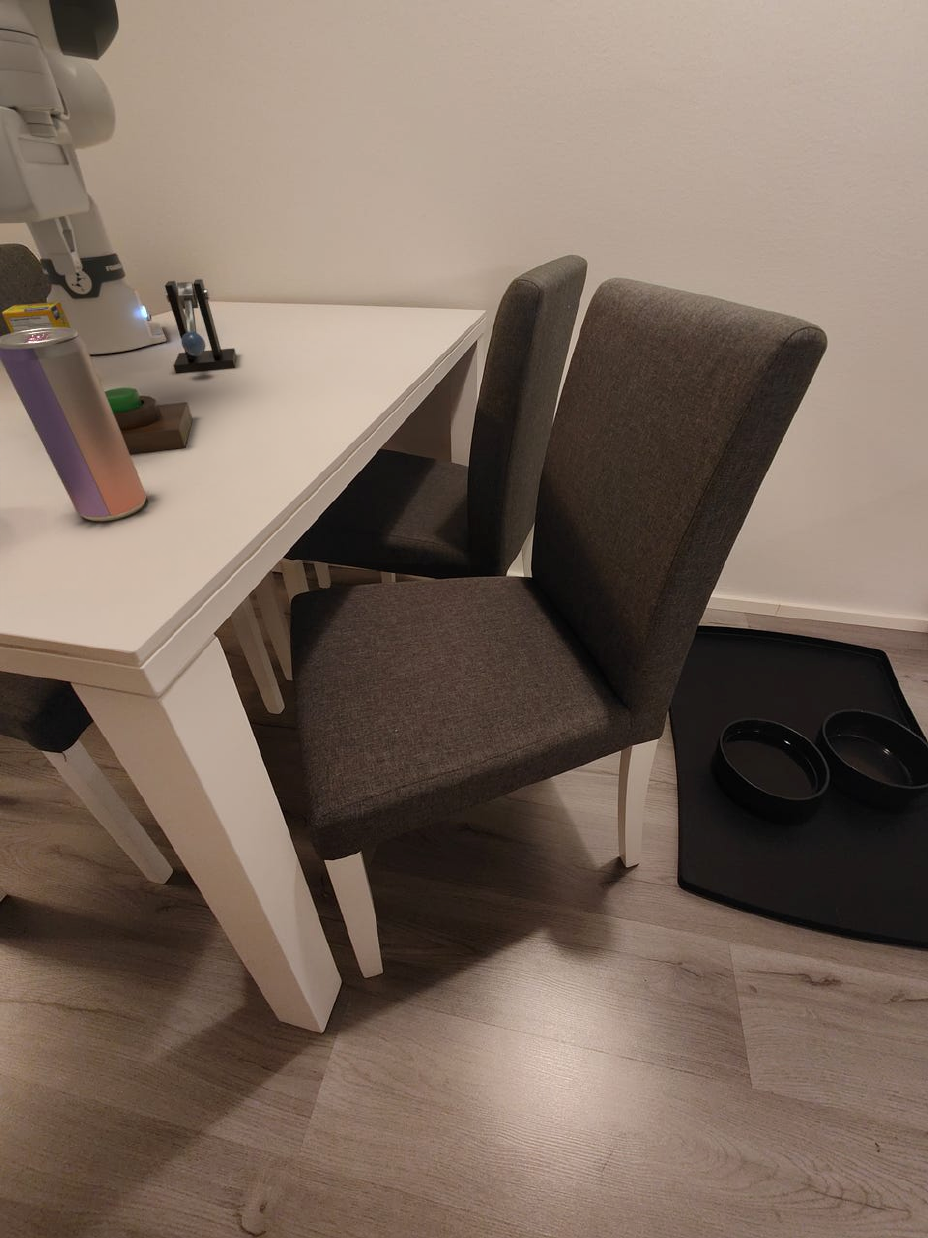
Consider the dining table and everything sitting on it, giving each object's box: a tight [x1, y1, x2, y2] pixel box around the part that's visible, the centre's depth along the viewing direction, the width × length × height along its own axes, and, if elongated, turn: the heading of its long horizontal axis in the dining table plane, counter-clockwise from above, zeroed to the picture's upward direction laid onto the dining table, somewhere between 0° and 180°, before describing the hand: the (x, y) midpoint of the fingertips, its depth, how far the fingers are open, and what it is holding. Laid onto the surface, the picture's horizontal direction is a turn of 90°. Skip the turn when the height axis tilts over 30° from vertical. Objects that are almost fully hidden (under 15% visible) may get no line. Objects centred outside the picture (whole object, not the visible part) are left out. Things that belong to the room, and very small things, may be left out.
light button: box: [104, 387, 143, 412], centre depth 65 cm, size 4×4×2 cm
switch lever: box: [176, 281, 206, 356], centre depth 86 cm, size 13×3×3 cm, turn 16°
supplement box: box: [2, 302, 71, 333], centre depth 81 cm, size 6×6×11 cm
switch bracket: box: [164, 278, 237, 374], centre depth 90 cm, size 8×9×12 cm
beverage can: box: [0, 327, 147, 522], centre depth 49 cm, size 6×6×15 cm
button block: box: [113, 395, 193, 455], centre depth 66 cm, size 10×12×4 cm
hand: (71, 273), depth 57 cm, fingers closed
